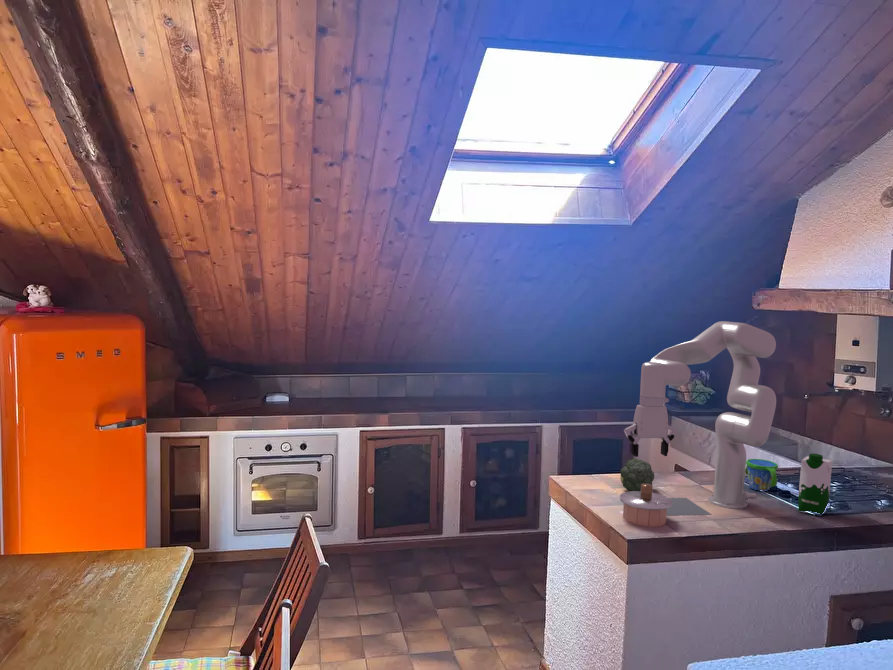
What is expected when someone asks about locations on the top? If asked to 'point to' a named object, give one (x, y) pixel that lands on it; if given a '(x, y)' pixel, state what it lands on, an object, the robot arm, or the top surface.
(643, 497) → the lid
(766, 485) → the snack cup
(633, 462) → the vegetable
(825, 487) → the milk carton
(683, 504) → the mat
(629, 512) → the bowl
